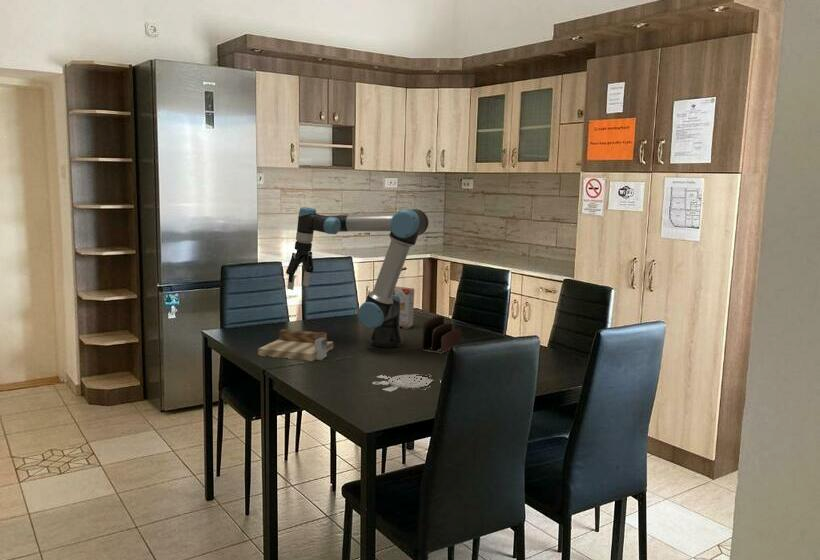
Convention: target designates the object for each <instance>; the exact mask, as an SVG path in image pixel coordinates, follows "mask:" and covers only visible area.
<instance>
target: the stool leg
mask: <svg viewBox="0 0 820 560" xmlns="http://www.w3.org/2000/svg"><path fill="white" fill-rule="evenodd" d="M327 335H328V334H327V332H324V331H320V332H318V331H308V330H307V331H306V330H295V329H285V328H283V329H281V330H279V338H278V339H279V340H287V341H297V342H307V343H315V340H316V339H318V338H327ZM327 339H328V338H327Z"/></svg>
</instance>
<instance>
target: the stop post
mask: <svg viewBox="0 0 820 560" xmlns="http://www.w3.org/2000/svg"><path fill="white" fill-rule="evenodd" d="M327 341H328V338H318V339H316V340H315V360H314V361H316V360H317V361H323V360H325V359H326V358H327V353H328V352H327ZM325 357H326V358H325Z"/></svg>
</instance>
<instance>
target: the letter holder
mask: <svg viewBox="0 0 820 560" xmlns="http://www.w3.org/2000/svg"><path fill="white" fill-rule="evenodd" d="M461 340H462V339H461V330H460V329H453V324H452V323H450V322H449V323H448V322H447V323H445V317H444V315H443V316H442V315H440V316H439V315H438V316H434V317H432V318H429V319H428V320H426V321H424V323H423V328H422V340H421V341H422V342H421V345H422V346H421V350H422V349H424V350H431V351H437V350H438V349H440V348H441V351H439V352H442V351H446V349H447V351H448V348H450V347H451V346H454V345H458V344H459V343H460V344H461V342H462V341H461ZM431 347H432V349H431ZM429 348H430V349H429ZM448 352H449V351H448Z"/></svg>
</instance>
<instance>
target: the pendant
mask: <svg viewBox="0 0 820 560" xmlns="http://www.w3.org/2000/svg"><path fill="white" fill-rule="evenodd" d="M383 375H384V374H381V375H377V376H376V378H379V379H383V378H384V379H385V380H382V381H373V382H372V384H373V385H382V386H388V385H391V386H390V387H386V388H382V390H383V391H386V392H391V393H392V392H393V391H396V390H397V389H398V388H400V387H401V389H408V388H412V389H411V390H416V389H415V388H417V389H421V388H420V387H424V386H428V385H429V384H430V383H431V382H432V381H433V379H430V378H428V377H422V376H416V375H419V374H416V373H413V374H402V375H396V376H392V378H391V376H388V377H387V375H384V376H383ZM409 377H410V378H409ZM414 377H415V378H414ZM429 377H431V375H430V376H429ZM388 378H390V379H388ZM399 378H400V379H399ZM416 378H417V379H416ZM421 378H422V380H420V379H421ZM397 379H398V380H397ZM386 380H387V381H386ZM414 380H415V381H414ZM439 380H440V383H441V381H442V380H441V379H439ZM392 381H393V382H392ZM419 381H420V382H419ZM426 383H427V384H426ZM431 384H432V383H431ZM429 386H430V385H429ZM413 388H414V389H413ZM424 388H425V387H424ZM426 389H427V388H425V389H423V390H426Z"/></svg>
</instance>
